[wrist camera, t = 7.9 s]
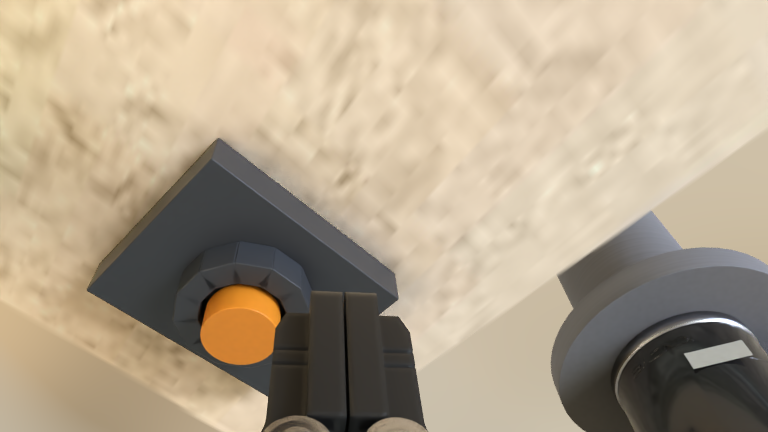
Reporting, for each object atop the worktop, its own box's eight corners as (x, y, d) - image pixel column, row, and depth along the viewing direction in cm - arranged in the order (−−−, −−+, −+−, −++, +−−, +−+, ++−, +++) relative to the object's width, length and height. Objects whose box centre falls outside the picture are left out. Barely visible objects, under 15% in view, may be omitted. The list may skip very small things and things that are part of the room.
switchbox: (395, 273, 35) (402, 322, 32) (276, 372, 39) (271, 426, 35) (218, 137, 30) (204, 177, 27) (99, 264, 34) (73, 314, 30)
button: (296, 310, 32) (294, 335, 30) (249, 350, 33) (245, 376, 31) (237, 271, 30) (232, 294, 29) (190, 315, 31) (184, 339, 30)
